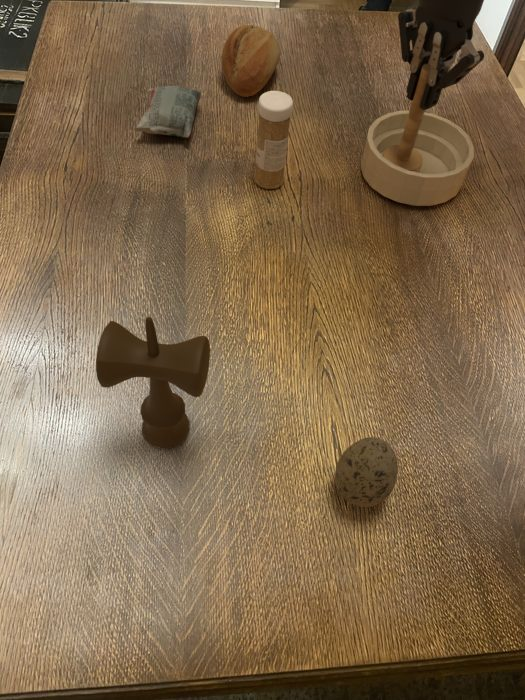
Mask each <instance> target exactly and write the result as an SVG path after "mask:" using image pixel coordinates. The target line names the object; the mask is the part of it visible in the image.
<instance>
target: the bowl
mask: <svg viewBox="0 0 525 700" xmlns="http://www.w3.org/2000/svg"><path fill="white" fill-rule="evenodd" d="M409 111H410V110H398V111H392V112H388V113H385V114H384V115H381V116H380V117H378V118H376V119H375V120H374V121H373V122H372V124H371V125H370V126H369V127H368V131H367V134H366V139H365V140H366V141H365V143H364V148H363V153H362V156H361V161H360V169H361V173H362V176H363V178H364V180H365V181H366V183H368V185H369V187H370V188H372V189H373V190H374V191H376V192H377V193H378V194H380V195H381V196H382V197H384V198H387V199H389V200H392V201H394V202H397V203H400V204H405V205H410V206H413V207H414V206H415V207H416V206H417V207H424V206H426V207H427V206H428V207H430V206H437V205H439V204H443V203H446V202H448V201H450V200H451V199H452V198H454V197H456V196H457V195H458V193H459V192H460V191H461V189H462V187H463V185H464V182H465V180H466V177H467V175H468V173H469V171H470V168H471V165H472V163H473V162H474V158H475V146H474V143H473V141H472V139H471V137H470V136H469V135H468V133H466V132H465V130H464V129H463V128H462V127H461V126H459V125H458V124H456V123H455V122H453V121H451V119H450V120H449V119H448V118H445V117H442V116H440V115H437V114H435V113H433V112H426V111H425V112H424V115H423V118H422V121H421V124H420V128H419V131H418V134H417V137H416V140H415V144H414V147H413V148H414V149H416V150H417V151H418V152H419V153H420V154H421V155H422V157H423V163H422V166H421V169H420V172H419V173H418V172H413V171H408V170H406V169H404V168H401V167H399V166H396V165H394V164H393V163H391V162H390V161H388V160H387V159H386V158H384V157H383V153H384V151H385V150H386V149H387V148H388V147H390V146H393V145H400V142H401V139H402V135H403V132H404V128H405V125H406V122H407V118H408V115H409Z"/></svg>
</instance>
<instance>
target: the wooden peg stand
mask: <svg viewBox="0 0 525 700" xmlns="http://www.w3.org/2000/svg"><path fill="white" fill-rule="evenodd" d="M430 69H431V67H430V66H429V64H425V65H423V66H422V70H421V73H420V77H419V80H418V84H417V87H416V90H415V94H414V97H413V100H412V101H411V105H410V108H409V110H408V111H409V115H408V118H407V122H406V125H405V128H404V132H403V135H402V139H401V142H400V145H393V146H390V147H388V148H387V149H386V150H385V151H384V153H383V157H384V158H386V159H387V160H388V161H390V162H391V163H393V164H394V165H396V166H399V167H401V168H404V169H406V170H408V171H413V172H418V173H419V172H420V169H421V166H422V163H423V157H422V155H421V154H420V153H419V152H418V151H417V150H416V149H414V148H413V147H414V144H415V140H416V137H417V134H418V131H419V128H420V124H421V121H422V118H423V115H424V112H426V110H422V109H421V108H420V103H421V100H422V96H423V93H424V90H425V86H426V83H428V78H429V74H430Z"/></svg>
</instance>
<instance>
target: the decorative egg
mask: <svg viewBox="0 0 525 700" xmlns="http://www.w3.org/2000/svg"><path fill="white" fill-rule="evenodd" d="M398 466H399V465H398V459H397V455H396V453H395V451H394V449H393V447H392V445H390V443H389V442H387V441H386V440H384V439H382V438H379V437H374V436H371V437H369V436H368V437H365V438H361V439H359V440H357V441H356V442H353V443H351V445H349V446H348V447H347V448H346V449H345V450H344V451H343V453H341V455H340V457H339V458H338V461H337V463H336V465H335V471H334V481H335V485H336V488H337V490H338V492H339V494H340V495H341V496H342V498H343V499H344V500H345V501H346V502H348V503H349V504H351V505H354V506H357V507H361V508H369V507H374V506H377V505H379V504H381V503H382V502H384V501H386V500H387V498H388V497H389V496H390V495H391V493H392V491H393V490H394V488H395V486H396V484H397V480H398V474H399V473H398V471H399V469H398Z"/></svg>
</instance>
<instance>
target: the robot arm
mask: <svg viewBox="0 0 525 700" xmlns="http://www.w3.org/2000/svg"><path fill="white" fill-rule="evenodd" d="M484 2H485V0H418V5H417V6H416V7H412V8H409V9H406V10H403V11H401V12H399V13H398V15H397V20H398V30H399V38H400V39H399V40H400V41H399V42H400V50H401V59H402V62H404V63H407V64H408V65H409V71H410V75H409V78H408V82H407V86H406V98H407V100H409V101H411V102H412V101H413V97H414V94H415V90H416V87H417V84H418V80H419V77H420V73H421V70H422V66H423V65H425V64H429V66H430V67H431V69H430V74H429V78H428V83H426V86H425V90H424V93H423V96H422V100H421V103H420V108H421V109H422V110H425V111H426V110H429V109H431V108H433V107H435V106H436V105H437V104H438V102H439V100H440V96H441V94H442V91H443V89H446V88H449V87H452V86H454V85H456V84H458V83H460V81H462V80H463V79H464V78H465V77H466V76H467V75H468V74H469V73H470V72H472V70H474V69H475V68H476V67H477V66H478V65H479V64H481V62H482V61H483V60H484V59H485V52H484V51H483V50H481V49H480V50H476V48H475V46H474V43H473V42H472V39H473V36H474V23H475V21H476V19H477V17H478V16H479V14H480V12H481V11H482V8H483V4H484ZM460 50H461V51H460ZM459 51H460V53H459V55H458V57H457V54H458V52H459ZM455 61H456V64H455ZM453 64H455V65H454V66H453ZM452 66H453V67H452Z"/></svg>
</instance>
